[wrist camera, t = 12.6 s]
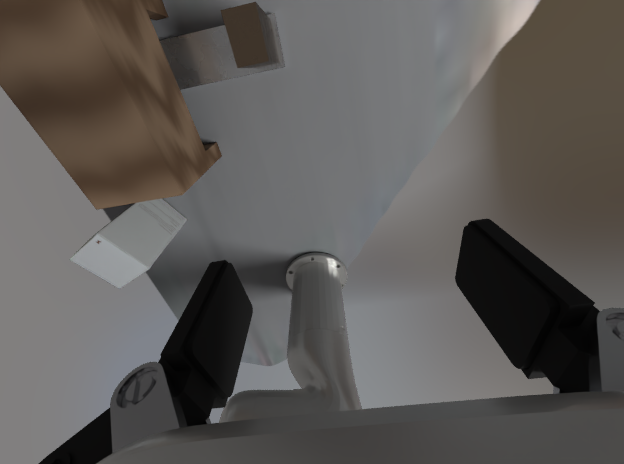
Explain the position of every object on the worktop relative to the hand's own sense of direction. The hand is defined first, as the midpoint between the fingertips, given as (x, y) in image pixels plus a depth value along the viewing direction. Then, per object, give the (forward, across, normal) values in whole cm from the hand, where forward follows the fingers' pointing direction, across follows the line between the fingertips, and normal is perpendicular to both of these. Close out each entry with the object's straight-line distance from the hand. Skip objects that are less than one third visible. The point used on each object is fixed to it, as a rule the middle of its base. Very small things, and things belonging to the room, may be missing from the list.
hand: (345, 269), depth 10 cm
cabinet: (+29, +20, -9) cm, 36 cm away
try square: (+29, +15, -11) cm, 35 cm away
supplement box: (+30, +30, +8) cm, 43 cm away
